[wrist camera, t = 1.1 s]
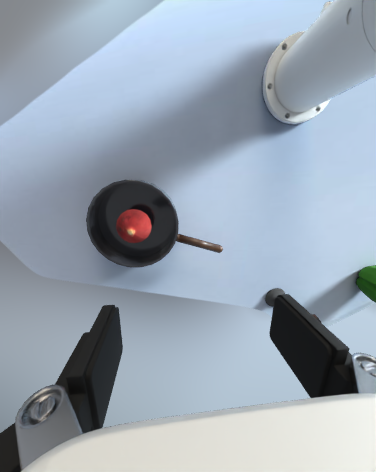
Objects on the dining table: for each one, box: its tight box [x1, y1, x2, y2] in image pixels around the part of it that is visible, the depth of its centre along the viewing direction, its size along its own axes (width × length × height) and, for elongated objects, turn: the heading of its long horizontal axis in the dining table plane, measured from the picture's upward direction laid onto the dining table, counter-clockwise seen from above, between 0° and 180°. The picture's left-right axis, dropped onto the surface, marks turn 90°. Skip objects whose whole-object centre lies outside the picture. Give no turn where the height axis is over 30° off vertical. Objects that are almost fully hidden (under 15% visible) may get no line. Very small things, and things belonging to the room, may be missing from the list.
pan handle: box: [176, 234, 223, 253], centre depth 34 cm, size 9×1×1 cm, turn 72°
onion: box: [116, 209, 152, 243], centre depth 32 cm, size 6×6×8 cm
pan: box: [86, 180, 178, 267], centre depth 34 cm, size 15×15×4 cm
